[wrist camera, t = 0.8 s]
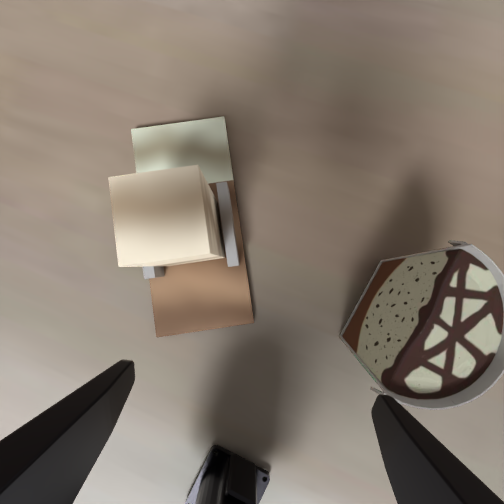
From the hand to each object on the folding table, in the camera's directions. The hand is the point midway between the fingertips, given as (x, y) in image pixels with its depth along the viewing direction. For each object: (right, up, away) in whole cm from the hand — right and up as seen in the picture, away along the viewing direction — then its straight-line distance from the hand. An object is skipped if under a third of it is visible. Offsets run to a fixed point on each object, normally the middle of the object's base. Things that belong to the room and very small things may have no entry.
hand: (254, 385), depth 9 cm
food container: (+14, -2, +17) cm, 22 cm away
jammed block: (-6, +7, +16) cm, 18 cm away
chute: (-6, +8, +17) cm, 20 cm away
